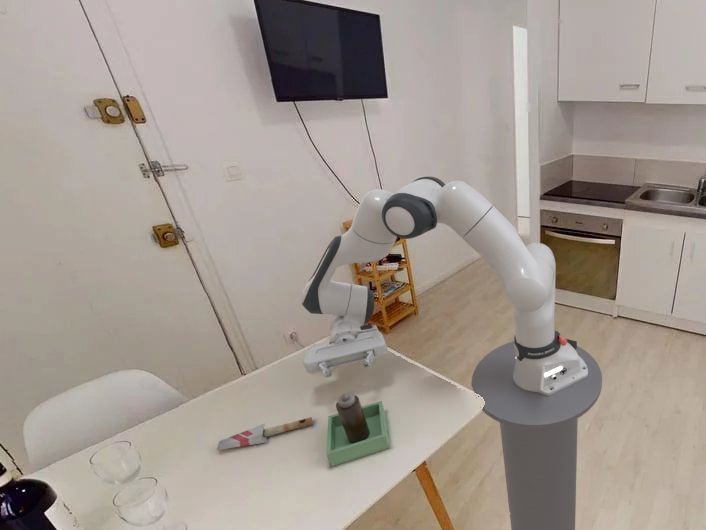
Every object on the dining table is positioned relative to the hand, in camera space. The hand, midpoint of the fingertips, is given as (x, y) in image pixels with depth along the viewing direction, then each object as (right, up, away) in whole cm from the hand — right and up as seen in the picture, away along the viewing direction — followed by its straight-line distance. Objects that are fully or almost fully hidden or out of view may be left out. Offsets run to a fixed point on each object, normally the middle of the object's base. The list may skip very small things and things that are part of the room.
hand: (347, 369), depth 104 cm
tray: (+5, -16, -4) cm, 17 cm away
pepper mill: (+5, -15, -4) cm, 17 cm away
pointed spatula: (-18, -16, -3) cm, 25 cm away
